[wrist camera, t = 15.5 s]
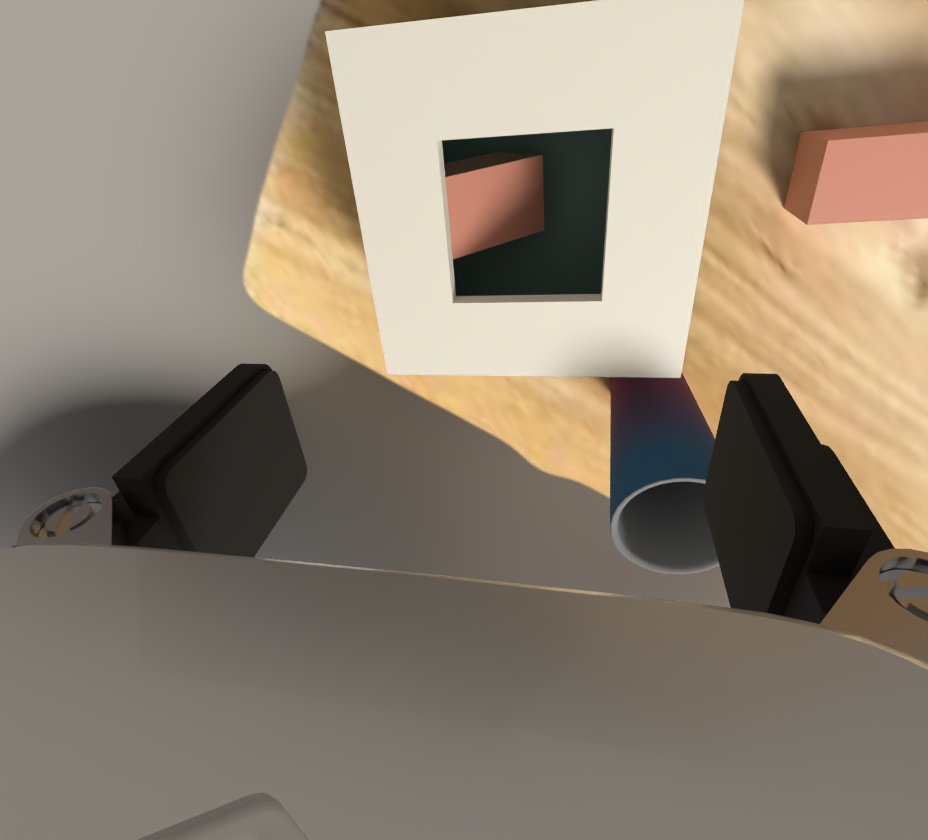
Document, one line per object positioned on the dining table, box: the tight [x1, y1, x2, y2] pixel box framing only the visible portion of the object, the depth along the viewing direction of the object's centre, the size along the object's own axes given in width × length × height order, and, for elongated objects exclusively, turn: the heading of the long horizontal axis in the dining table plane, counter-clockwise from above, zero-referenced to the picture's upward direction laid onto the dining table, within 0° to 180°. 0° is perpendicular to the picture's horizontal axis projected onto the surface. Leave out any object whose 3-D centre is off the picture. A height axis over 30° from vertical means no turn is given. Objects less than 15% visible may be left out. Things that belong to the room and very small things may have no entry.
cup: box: [610, 373, 719, 574], centre depth 33 cm, size 7×7×15 cm
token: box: [784, 121, 928, 225], centre depth 28 cm, size 7×4×4 cm, turn 96°
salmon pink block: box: [444, 152, 544, 259], centre depth 30 cm, size 4×4×7 cm
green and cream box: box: [325, 0, 744, 378], centre depth 29 cm, size 16×16×10 cm
